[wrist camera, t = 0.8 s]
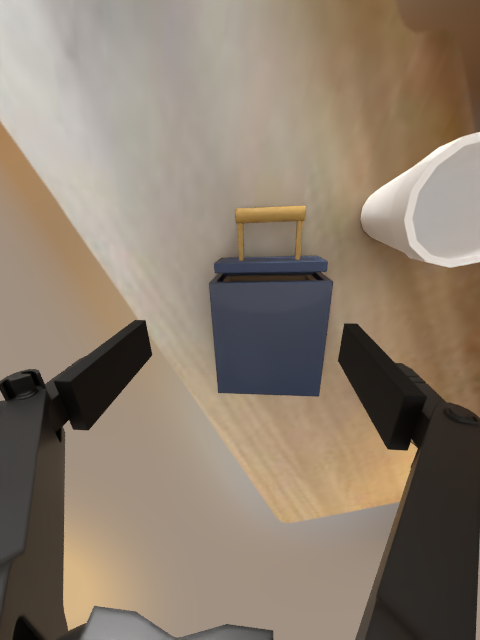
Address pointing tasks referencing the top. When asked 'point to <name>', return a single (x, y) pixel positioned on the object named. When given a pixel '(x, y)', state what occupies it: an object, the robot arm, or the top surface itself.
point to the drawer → (270, 263)
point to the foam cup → (432, 207)
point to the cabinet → (270, 333)
